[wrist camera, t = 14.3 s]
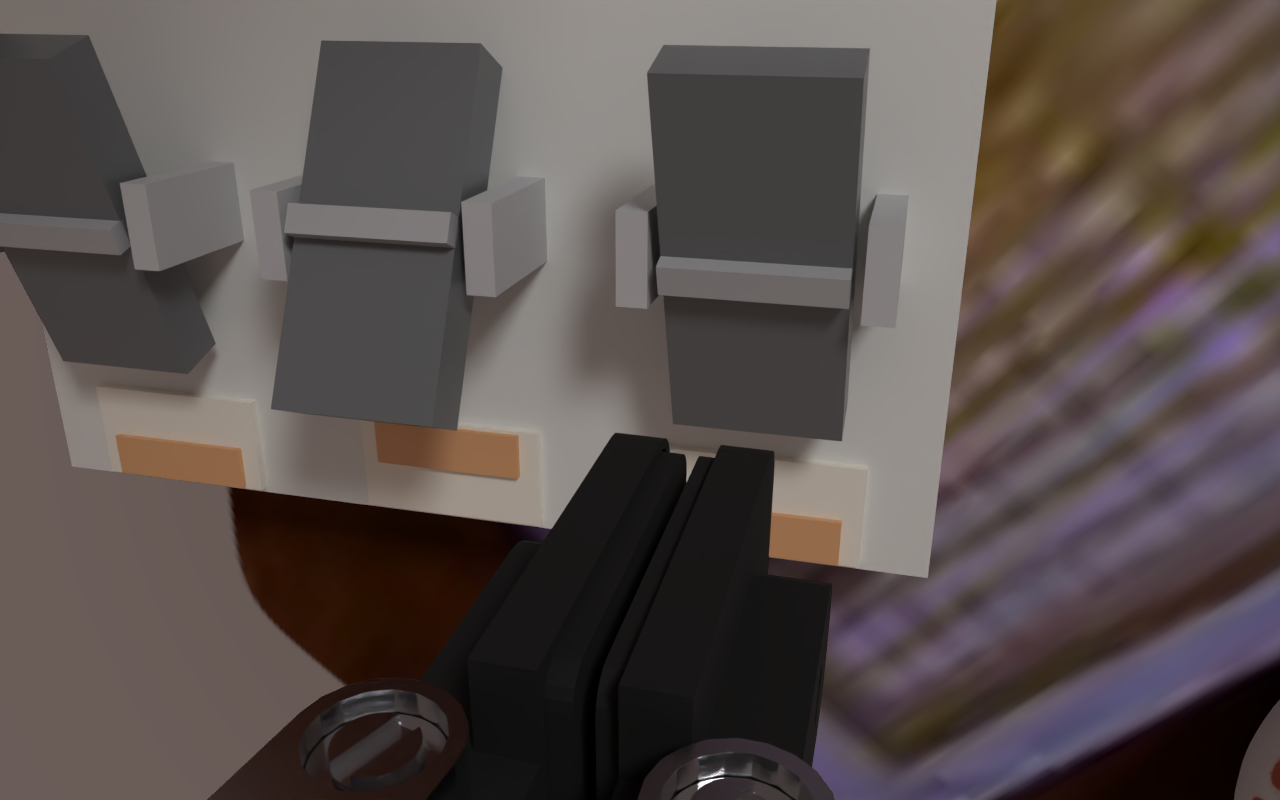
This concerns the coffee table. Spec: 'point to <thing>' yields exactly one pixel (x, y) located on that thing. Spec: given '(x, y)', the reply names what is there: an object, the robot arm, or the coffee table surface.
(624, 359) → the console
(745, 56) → the rocker
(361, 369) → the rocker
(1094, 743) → the coffee table surface
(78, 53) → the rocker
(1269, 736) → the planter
